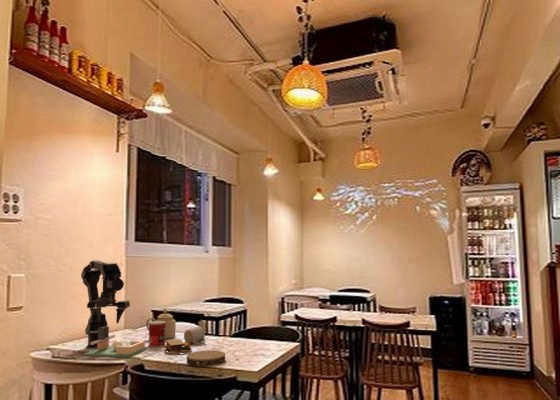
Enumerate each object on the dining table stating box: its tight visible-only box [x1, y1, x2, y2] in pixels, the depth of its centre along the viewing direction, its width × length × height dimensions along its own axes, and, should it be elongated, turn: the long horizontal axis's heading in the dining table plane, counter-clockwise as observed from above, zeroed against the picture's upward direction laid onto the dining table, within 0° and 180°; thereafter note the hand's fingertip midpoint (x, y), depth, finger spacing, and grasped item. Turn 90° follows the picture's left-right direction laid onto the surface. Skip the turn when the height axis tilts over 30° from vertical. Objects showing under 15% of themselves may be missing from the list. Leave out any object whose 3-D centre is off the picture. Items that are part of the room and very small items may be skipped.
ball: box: [111, 339, 123, 350], centre depth 207 cm, size 4×4×4 cm
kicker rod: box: [90, 325, 116, 350], centre depth 209 cm, size 3×17×10 cm, turn 167°
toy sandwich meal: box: [163, 338, 193, 355], centre depth 207 cm, size 12×14×5 cm
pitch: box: [83, 340, 148, 358], centre depth 207 cm, size 22×16×4 cm
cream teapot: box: [145, 308, 177, 340], centre depth 241 cm, size 15×11×15 cm
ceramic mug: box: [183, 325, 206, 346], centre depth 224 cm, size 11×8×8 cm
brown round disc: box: [186, 349, 226, 367], centre depth 188 cm, size 16×16×3 cm
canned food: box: [148, 320, 166, 347], centre depth 223 cm, size 8×8×11 cm
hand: (108, 323), depth 211 cm, fingers open, 9 cm apart
